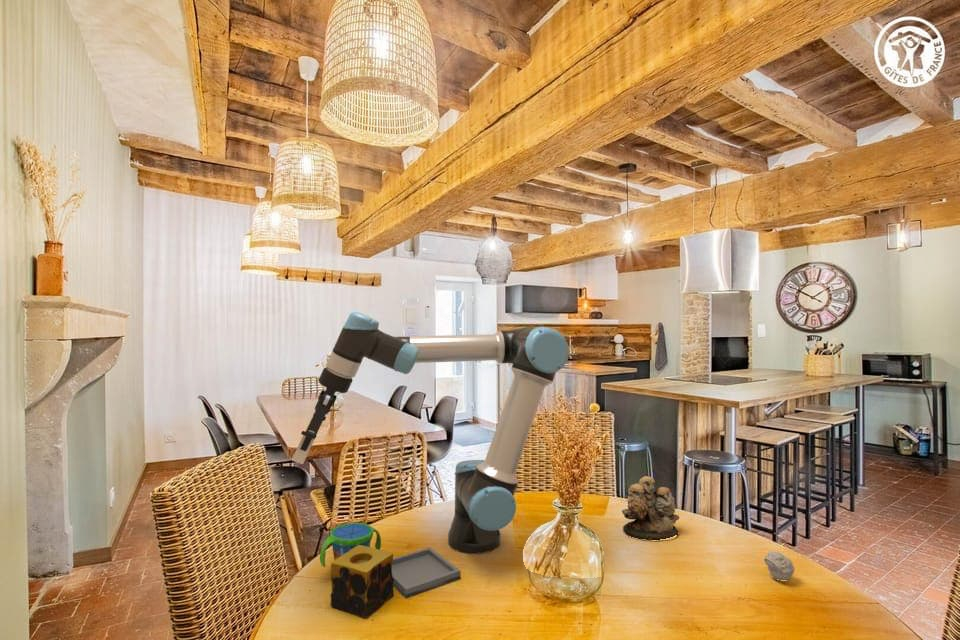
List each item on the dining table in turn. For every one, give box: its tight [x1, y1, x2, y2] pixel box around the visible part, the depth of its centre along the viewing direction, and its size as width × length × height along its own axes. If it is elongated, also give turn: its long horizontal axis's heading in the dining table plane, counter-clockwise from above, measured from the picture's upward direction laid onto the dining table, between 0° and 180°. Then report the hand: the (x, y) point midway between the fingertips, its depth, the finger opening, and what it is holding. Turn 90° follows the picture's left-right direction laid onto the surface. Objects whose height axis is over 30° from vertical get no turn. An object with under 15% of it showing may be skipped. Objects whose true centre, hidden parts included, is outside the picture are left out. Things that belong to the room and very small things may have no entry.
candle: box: [330, 545, 395, 619], centre depth 107 cm, size 10×10×10 cm
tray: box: [392, 546, 462, 599], centre depth 119 cm, size 15×15×2 cm
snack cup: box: [319, 522, 382, 568], centre depth 120 cm, size 16×10×10 cm
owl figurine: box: [621, 475, 680, 541], centre depth 146 cm, size 18×12×17 cm, turn 101°
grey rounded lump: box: [763, 550, 795, 581], centre depth 119 cm, size 6×7×7 cm
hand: (301, 451), depth 117 cm, fingers open, 13 cm apart
